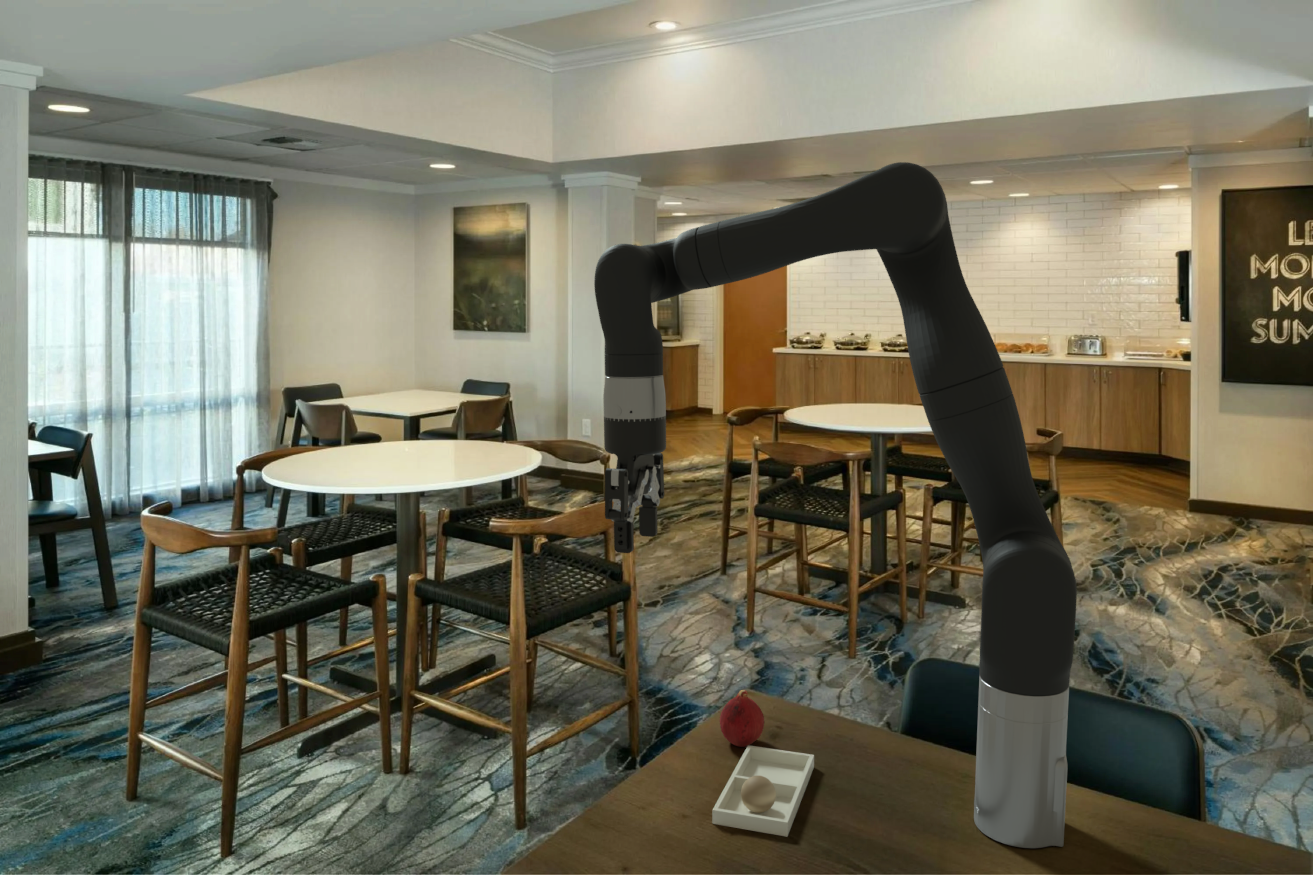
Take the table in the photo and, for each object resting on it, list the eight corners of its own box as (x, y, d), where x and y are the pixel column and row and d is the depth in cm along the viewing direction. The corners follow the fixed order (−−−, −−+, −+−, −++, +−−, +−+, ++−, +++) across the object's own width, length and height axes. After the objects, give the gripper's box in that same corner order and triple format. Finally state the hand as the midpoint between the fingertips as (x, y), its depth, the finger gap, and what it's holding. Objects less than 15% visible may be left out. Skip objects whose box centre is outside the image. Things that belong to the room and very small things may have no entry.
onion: (748, 762, 122) (748, 703, 121) (711, 750, 126) (711, 692, 125) (771, 745, 127) (772, 688, 126) (735, 734, 130) (735, 678, 129)
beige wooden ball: (779, 804, 111) (779, 771, 110) (771, 822, 107) (771, 788, 106) (745, 798, 112) (745, 766, 111) (737, 816, 108) (736, 783, 108)
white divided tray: (813, 772, 120) (814, 754, 119) (787, 842, 104) (787, 822, 104) (747, 762, 122) (747, 745, 122) (712, 829, 107) (712, 809, 107)
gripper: (643, 420, 107) (645, 560, 109) (682, 407, 121) (683, 532, 123) (582, 419, 110) (585, 556, 112) (627, 406, 123) (629, 528, 125)
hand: (636, 543), depth 117 cm, fingers open, 8 cm apart
